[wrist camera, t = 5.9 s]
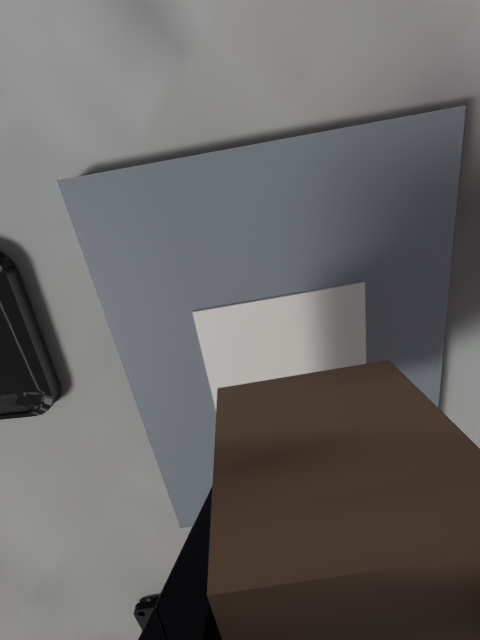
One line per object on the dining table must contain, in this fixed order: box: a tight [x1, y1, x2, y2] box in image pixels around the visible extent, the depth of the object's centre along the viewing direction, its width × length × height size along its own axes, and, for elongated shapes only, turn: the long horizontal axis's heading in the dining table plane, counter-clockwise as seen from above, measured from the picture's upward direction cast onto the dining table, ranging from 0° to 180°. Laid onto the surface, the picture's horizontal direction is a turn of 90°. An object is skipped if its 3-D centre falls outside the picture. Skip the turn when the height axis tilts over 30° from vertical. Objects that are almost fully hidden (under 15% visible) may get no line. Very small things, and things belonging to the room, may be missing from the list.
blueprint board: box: [57, 105, 466, 528], centre depth 14 cm, size 18×14×1 cm
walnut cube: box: [207, 360, 480, 640], centre depth 7 cm, size 5×5×5 cm
